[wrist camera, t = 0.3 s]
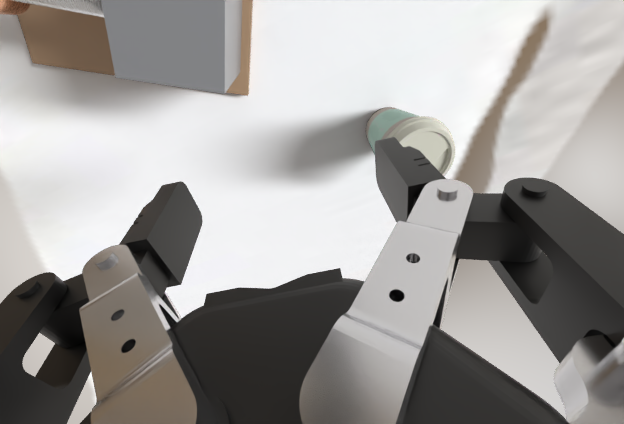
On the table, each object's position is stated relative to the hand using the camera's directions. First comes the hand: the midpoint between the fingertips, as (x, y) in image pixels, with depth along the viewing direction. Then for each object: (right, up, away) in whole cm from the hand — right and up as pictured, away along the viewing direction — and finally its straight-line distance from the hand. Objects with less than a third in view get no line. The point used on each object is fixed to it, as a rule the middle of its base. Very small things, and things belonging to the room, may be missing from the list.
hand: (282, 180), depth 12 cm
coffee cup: (+12, +11, +29) cm, 33 cm away
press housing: (-17, +21, +18) cm, 32 cm away
